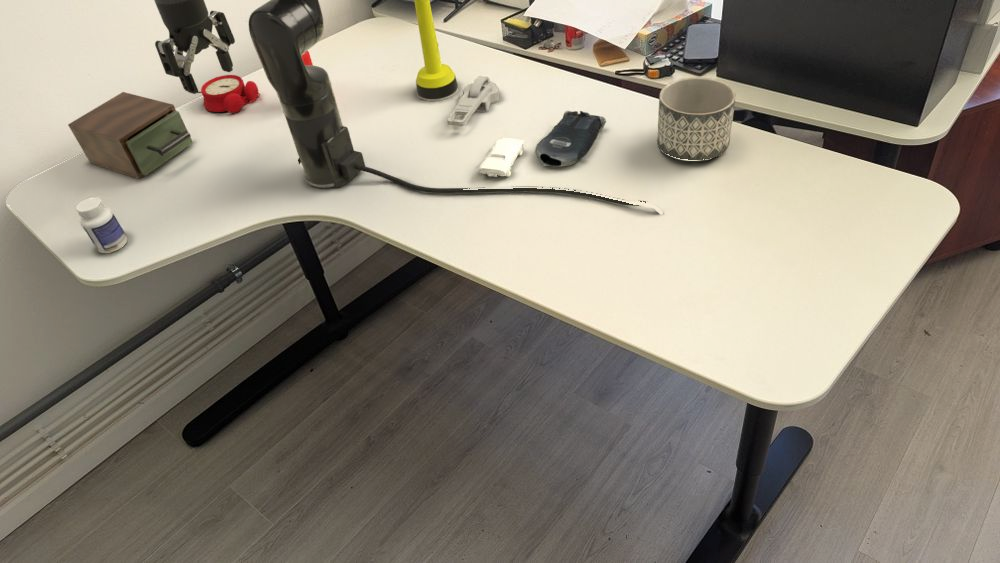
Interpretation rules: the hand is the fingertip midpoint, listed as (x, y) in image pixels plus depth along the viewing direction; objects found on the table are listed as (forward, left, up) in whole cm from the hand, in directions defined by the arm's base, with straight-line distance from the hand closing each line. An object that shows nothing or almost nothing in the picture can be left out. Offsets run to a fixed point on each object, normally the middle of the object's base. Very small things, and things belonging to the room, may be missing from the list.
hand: (211, 81), depth 132 cm
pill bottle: (+4, +29, -18) cm, 34 cm away
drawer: (+19, +6, -16) cm, 26 cm away
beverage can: (+2, -23, -18) cm, 29 cm away
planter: (-79, -35, -18) cm, 88 cm away
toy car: (-49, -18, -18) cm, 55 cm away
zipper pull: (-34, -32, -18) cm, 50 cm away
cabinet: (+24, +6, -17) cm, 30 cm away
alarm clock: (+20, -17, -18) cm, 31 cm away
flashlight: (-22, -37, -18) cm, 47 cm away
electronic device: (-58, -27, -18) cm, 66 cm away
